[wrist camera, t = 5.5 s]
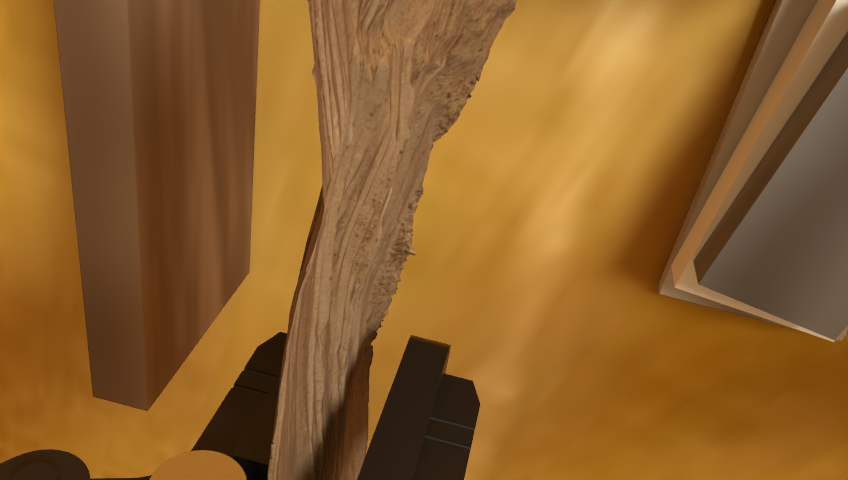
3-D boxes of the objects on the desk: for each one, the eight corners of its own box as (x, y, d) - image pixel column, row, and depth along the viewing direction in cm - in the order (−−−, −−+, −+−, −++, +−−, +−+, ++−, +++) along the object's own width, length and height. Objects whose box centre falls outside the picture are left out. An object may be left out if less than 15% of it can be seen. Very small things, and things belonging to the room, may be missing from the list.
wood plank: (415, 605, 18) (377, 858, 14) (329, 588, 18) (265, 835, 14) (532, -102, 10) (525, -15, 6) (378, -122, 10) (263, -52, 6)
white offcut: (1044, 9, 23) (1070, 23, 21) (823, 317, 29) (833, 342, 28) (847, -56, 23) (862, -46, 22) (670, 265, 29) (674, 287, 28)
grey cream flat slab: (1042, -45, 23) (1067, -36, 22) (831, 318, 31) (841, 341, 29) (808, -96, 24) (820, -90, 23) (656, 273, 31) (659, 293, 30)
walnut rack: (999, -223, 21) (1229, -230, 13) (716, 386, 32) (752, 570, 25) (208, -355, 23) (11, -428, 15) (206, 261, 34) (92, 396, 27)
